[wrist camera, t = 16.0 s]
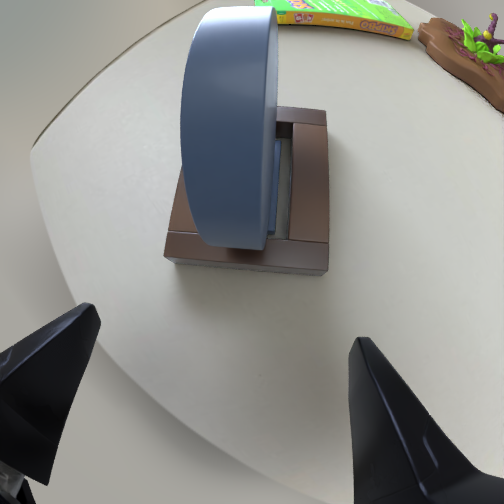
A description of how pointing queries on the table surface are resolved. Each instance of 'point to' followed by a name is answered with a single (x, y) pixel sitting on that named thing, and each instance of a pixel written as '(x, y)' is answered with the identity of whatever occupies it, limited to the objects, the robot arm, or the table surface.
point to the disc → (232, 127)
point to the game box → (342, 15)
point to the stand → (299, 215)
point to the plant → (468, 55)
